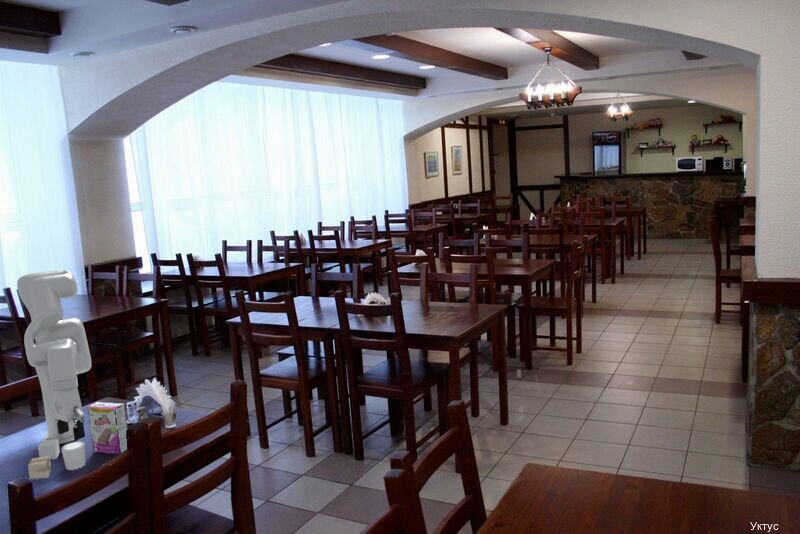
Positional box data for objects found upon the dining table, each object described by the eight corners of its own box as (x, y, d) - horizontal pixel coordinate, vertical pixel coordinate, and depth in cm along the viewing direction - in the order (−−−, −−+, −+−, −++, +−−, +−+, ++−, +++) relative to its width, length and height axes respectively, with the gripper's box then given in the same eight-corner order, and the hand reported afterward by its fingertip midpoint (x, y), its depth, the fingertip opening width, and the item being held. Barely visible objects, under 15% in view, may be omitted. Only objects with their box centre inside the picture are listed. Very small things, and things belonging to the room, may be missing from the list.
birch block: (34, 473, 209) (32, 458, 209) (51, 470, 211) (49, 455, 210) (30, 480, 205) (27, 465, 204) (47, 477, 206) (45, 462, 205)
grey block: (43, 455, 223) (41, 441, 222) (60, 452, 224) (58, 438, 223) (40, 461, 218) (37, 447, 217) (56, 459, 219) (54, 444, 218)
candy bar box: (92, 453, 222) (86, 406, 219) (102, 446, 227) (96, 401, 224) (121, 455, 219) (114, 408, 216) (130, 449, 224) (125, 402, 221)
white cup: (78, 471, 209) (75, 450, 208) (59, 470, 210) (56, 449, 209) (92, 461, 216) (89, 441, 214) (73, 460, 217) (70, 440, 216)
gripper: (38, 383, 210) (46, 434, 213) (66, 391, 200) (74, 445, 203) (62, 376, 216) (69, 426, 219) (90, 384, 206) (97, 436, 209)
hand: (71, 435), depth 211 cm, fingers open, 9 cm apart
